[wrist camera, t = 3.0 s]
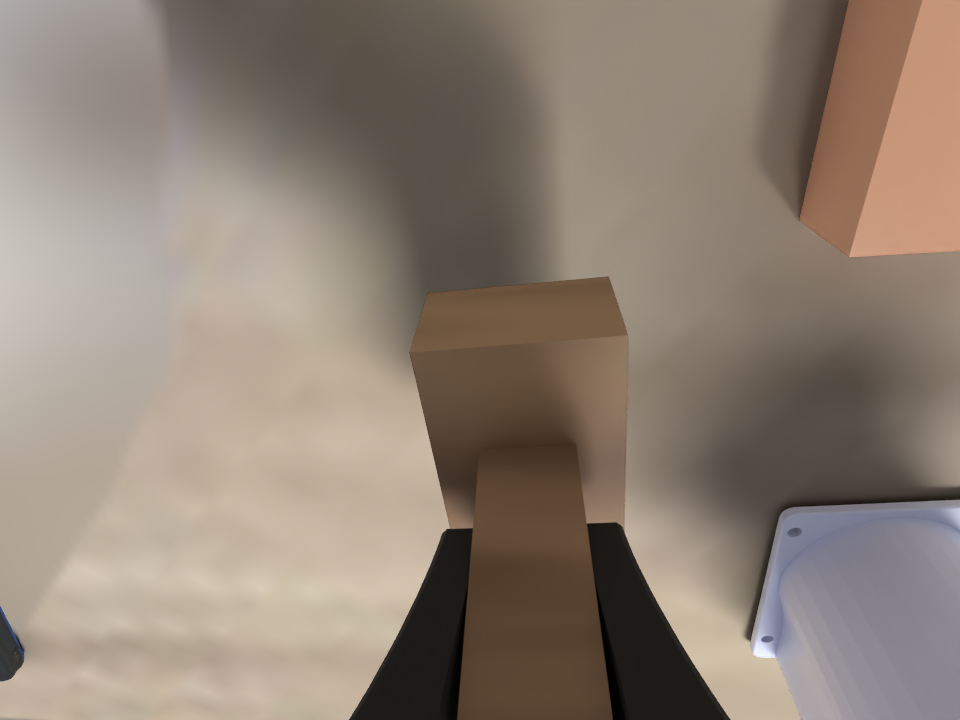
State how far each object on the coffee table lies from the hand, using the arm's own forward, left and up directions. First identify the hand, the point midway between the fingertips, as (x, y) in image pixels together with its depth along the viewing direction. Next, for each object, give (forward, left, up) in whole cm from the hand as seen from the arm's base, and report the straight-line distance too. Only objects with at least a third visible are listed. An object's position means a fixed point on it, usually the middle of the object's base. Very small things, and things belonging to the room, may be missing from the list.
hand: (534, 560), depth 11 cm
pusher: (0, 0, -4) cm, 4 cm away
